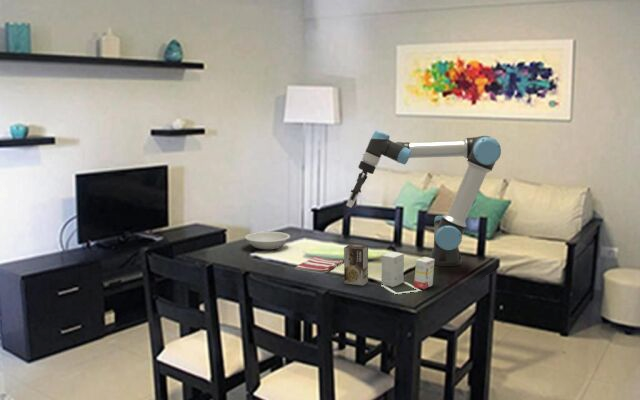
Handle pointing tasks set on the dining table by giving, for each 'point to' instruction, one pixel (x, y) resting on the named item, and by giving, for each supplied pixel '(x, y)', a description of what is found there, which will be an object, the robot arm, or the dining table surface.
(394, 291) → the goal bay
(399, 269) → the small box
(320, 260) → the dish towel
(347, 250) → the coffee box
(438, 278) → the dining table surface
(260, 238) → the soup bowl
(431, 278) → the ink box
